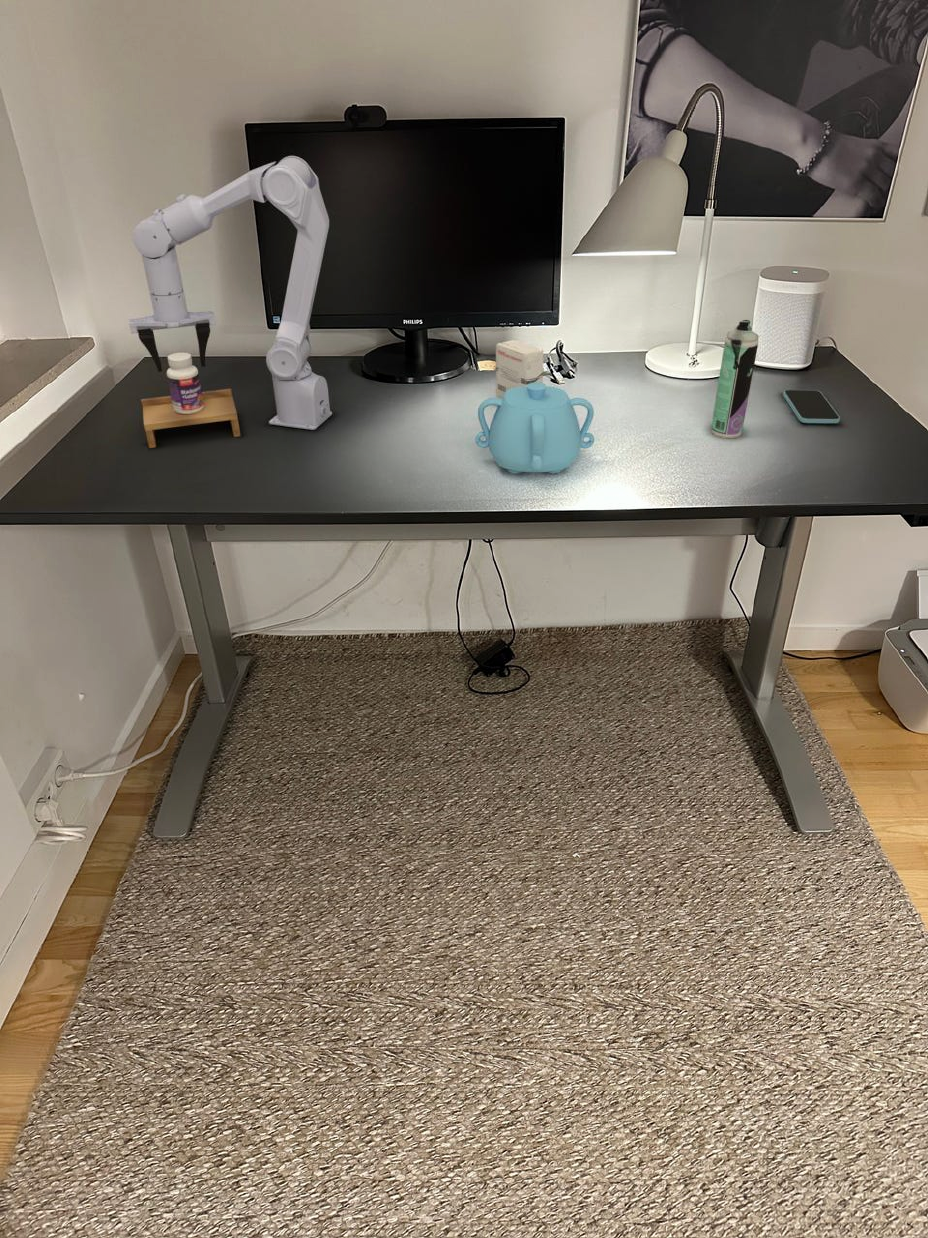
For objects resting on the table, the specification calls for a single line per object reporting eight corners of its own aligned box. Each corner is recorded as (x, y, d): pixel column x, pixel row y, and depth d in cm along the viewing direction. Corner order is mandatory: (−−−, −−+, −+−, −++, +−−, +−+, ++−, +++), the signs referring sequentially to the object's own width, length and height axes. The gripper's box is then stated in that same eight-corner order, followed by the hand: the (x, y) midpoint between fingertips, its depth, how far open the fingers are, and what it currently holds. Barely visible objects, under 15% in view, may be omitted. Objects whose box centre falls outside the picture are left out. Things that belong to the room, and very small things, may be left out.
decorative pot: (539, 433, 164) (542, 360, 156) (601, 464, 153) (607, 387, 145) (467, 458, 156) (466, 381, 148) (527, 492, 145) (529, 412, 138)
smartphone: (819, 390, 177) (841, 419, 164) (818, 395, 177) (840, 425, 165) (782, 389, 177) (801, 418, 165) (781, 394, 178) (800, 424, 165)
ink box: (543, 410, 172) (546, 348, 166) (524, 416, 170) (525, 355, 163) (513, 396, 178) (514, 337, 171) (493, 403, 175) (494, 342, 168)
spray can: (742, 439, 161) (763, 326, 149) (710, 437, 162) (728, 325, 150) (741, 426, 165) (761, 316, 154) (710, 424, 166) (727, 314, 154)
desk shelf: (235, 417, 171) (230, 388, 168) (240, 436, 164) (235, 406, 161) (147, 428, 167) (141, 398, 164) (149, 448, 160) (142, 417, 157)
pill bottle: (187, 417, 160) (176, 363, 154) (167, 410, 163) (156, 357, 157) (211, 407, 164) (201, 354, 158) (191, 400, 166) (181, 348, 161)
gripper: (123, 301, 153) (141, 379, 161) (210, 293, 156) (224, 369, 164) (123, 290, 158) (140, 366, 166) (207, 282, 162) (220, 357, 170)
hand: (181, 367), depth 166 cm, fingers open, 7 cm apart
